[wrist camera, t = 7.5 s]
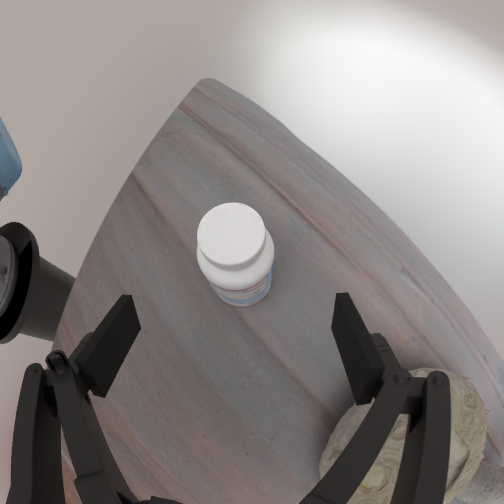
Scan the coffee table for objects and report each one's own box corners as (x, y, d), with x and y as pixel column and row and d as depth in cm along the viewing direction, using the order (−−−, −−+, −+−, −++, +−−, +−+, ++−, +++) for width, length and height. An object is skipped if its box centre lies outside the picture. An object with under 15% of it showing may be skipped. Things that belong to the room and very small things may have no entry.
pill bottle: (228, 245, 30) (211, 182, 20) (280, 265, 29) (290, 209, 19) (203, 294, 28) (169, 252, 18) (257, 318, 27) (254, 289, 16)
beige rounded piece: (318, 525, 17) (337, 574, 8) (300, 393, 24) (322, 410, 14) (452, 470, 17) (500, 487, 8) (445, 347, 24) (503, 333, 15)
